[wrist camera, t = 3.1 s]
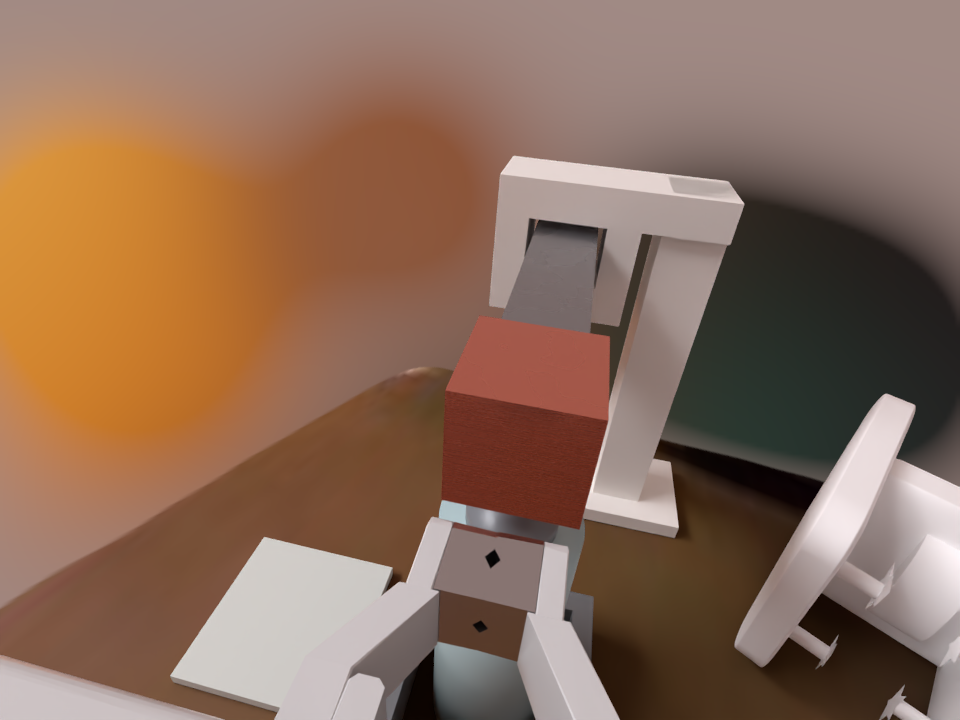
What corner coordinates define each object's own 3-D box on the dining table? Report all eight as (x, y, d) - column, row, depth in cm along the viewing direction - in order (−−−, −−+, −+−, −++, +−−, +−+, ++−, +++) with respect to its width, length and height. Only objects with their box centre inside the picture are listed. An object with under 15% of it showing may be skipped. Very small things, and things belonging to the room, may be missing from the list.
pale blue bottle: (542, 656, 27) (591, 466, 19) (529, 771, 23) (585, 587, 15) (448, 632, 28) (459, 440, 20) (419, 739, 23) (419, 549, 16)
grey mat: (392, 573, 30) (392, 567, 30) (331, 728, 24) (329, 722, 23) (265, 543, 31) (264, 537, 31) (173, 682, 25) (170, 676, 24)
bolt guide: (666, 471, 38) (775, 182, 27) (674, 538, 34) (811, 219, 22) (488, 436, 40) (516, 151, 29) (470, 494, 35) (496, 179, 24)
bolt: (598, 253, 32) (611, 187, 30) (579, 529, 15) (608, 420, 12) (533, 244, 32) (541, 178, 30) (441, 499, 15) (445, 390, 13)
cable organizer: (807, 508, 36) (891, 373, 30) (997, 614, 31) (1153, 475, 24) (717, 662, 27) (811, 515, 21) (966, 857, 21) (1204, 736, 15)
